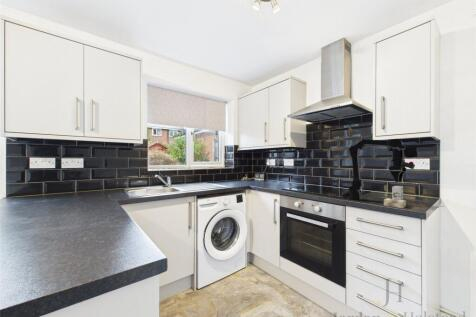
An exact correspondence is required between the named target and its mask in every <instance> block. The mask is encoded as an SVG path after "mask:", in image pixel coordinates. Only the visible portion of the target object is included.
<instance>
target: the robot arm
mask: <svg viewBox="0 0 476 317" xmlns="http://www.w3.org/2000/svg"><path fill="white" fill-rule="evenodd" d="M366 146H385V147H389V148H390V149H388V152H389V153H391V163H392V165H390V166H389V167H388V170H389V172H390V174H391V176H392V177H393V180H394V181H395V183H398V182H399V183H402V181H403V177H404V174H406V173H407V172H408V169H410V170H414V169H415V167H416V164H415V163H414V162H412V161H410V162H406V161H405V160H404V157H406V158H407V159H410V158H411V159H412V158H413V159H414V158H415V159H416V158H419V152H418V147H417V146H409V147H406V145H404V143H403V141H402V140H401V139H399V138H394V139H366V138H364V139H361V140H360V141H359V142H357V143H356V144H354V145H351V146H350V147H349V148H348V150H349V151H348V152H349V155H350V157H351V160H352V161H351V164H352V174H353V175H352V176H353V177H352V178H353V179H352V183H351V186H350V187H349V188H348V190H349V191H348V192H349V194H348V200H353V201H359V200H361V198H362V196H361V194H362V193H361V192H360V190H361V189H362V188H363V187H364V185H365V183H364V178H362V177H361V172H360V161H359V157H360V152H361V150H362V149H363V148H364V147H366Z"/></svg>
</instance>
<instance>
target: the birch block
mask: <svg viewBox="0 0 476 317" xmlns="http://www.w3.org/2000/svg"><path fill="white" fill-rule="evenodd" d="M383 206H385V207H386V206H387V207H393V208H400V209H401V208H402V209H404V208H406V207H407V200H404V199H403V200H397V199H392V198H384V199H383Z"/></svg>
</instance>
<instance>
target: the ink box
mask: <svg viewBox="0 0 476 317" xmlns="http://www.w3.org/2000/svg"><path fill="white" fill-rule="evenodd" d="M391 189H392V190H391V191H392V192H391V194H392V196H391V197H392V198H391V199H397V200H404V186H403V185H393V186H392V187H391Z"/></svg>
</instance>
